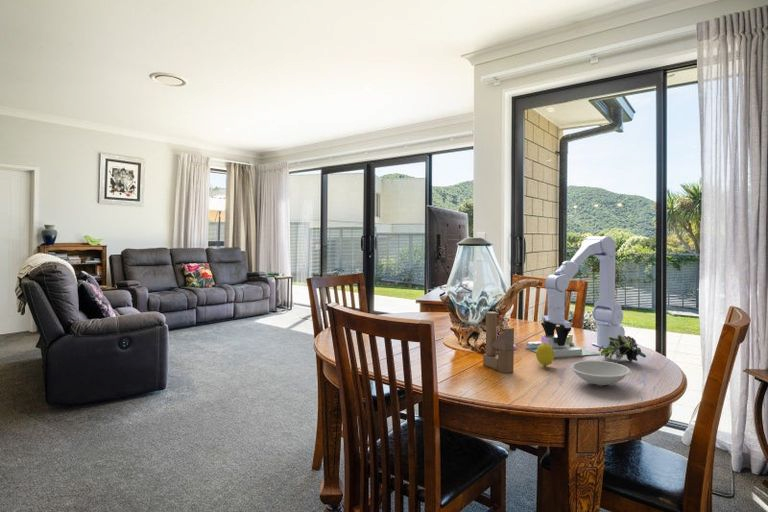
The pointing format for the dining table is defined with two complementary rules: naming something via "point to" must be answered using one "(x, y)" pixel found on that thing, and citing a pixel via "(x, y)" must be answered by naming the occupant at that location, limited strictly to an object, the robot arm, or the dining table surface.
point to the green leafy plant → (622, 348)
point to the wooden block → (498, 346)
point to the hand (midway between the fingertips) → (555, 343)
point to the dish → (600, 371)
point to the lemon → (545, 354)
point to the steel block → (554, 341)
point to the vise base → (584, 351)
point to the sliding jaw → (535, 344)
